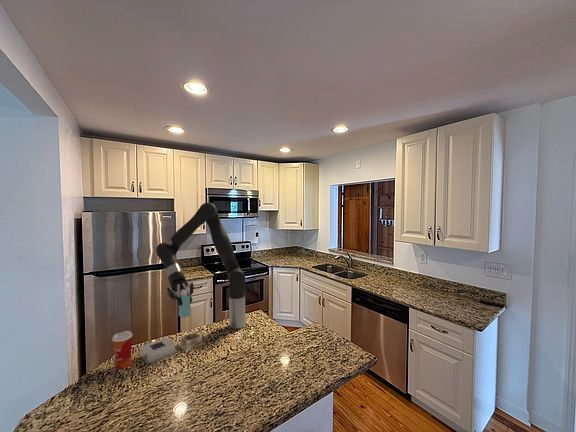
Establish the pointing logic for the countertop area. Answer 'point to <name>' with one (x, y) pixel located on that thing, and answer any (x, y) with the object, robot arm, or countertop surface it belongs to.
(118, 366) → the paper cup
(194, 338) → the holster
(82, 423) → the countertop surface
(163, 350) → the block
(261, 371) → the countertop surface
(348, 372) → the countertop surface
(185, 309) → the teal bottle
